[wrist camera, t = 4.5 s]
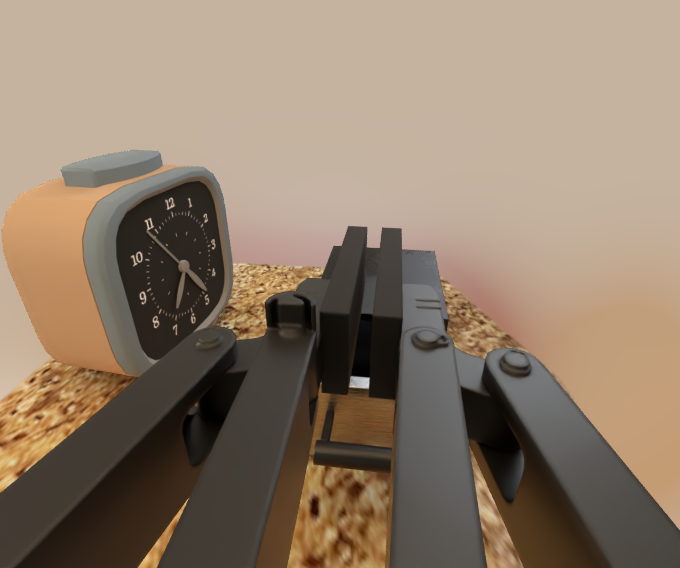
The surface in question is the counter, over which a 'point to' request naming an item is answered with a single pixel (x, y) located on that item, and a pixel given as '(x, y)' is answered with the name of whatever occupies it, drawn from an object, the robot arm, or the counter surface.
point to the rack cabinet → (414, 270)
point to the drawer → (355, 419)
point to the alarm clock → (120, 259)
